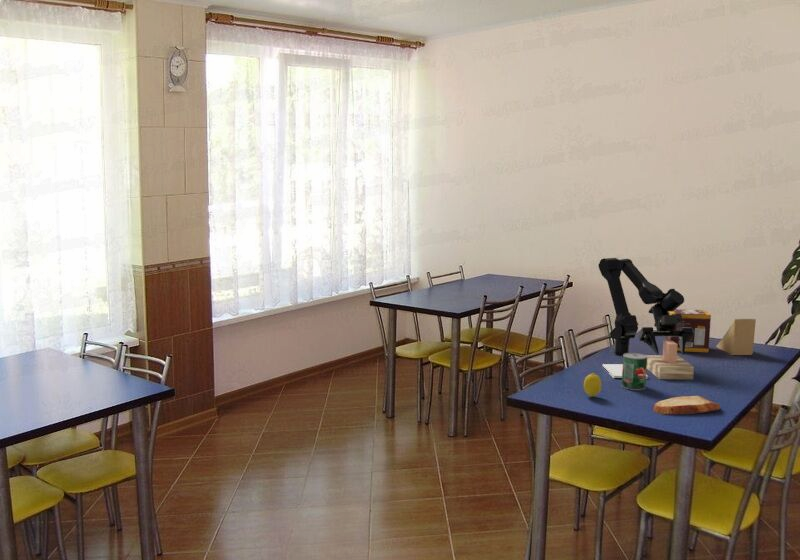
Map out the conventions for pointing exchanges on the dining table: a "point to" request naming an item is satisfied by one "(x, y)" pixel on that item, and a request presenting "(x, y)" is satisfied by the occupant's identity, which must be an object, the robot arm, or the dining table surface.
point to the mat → (615, 370)
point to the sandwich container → (739, 337)
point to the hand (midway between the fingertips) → (670, 353)
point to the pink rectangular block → (669, 351)
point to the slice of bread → (685, 405)
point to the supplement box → (694, 329)
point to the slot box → (669, 368)
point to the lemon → (592, 384)
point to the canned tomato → (634, 371)
